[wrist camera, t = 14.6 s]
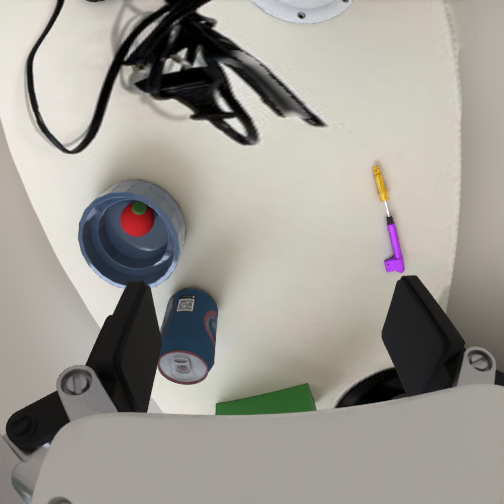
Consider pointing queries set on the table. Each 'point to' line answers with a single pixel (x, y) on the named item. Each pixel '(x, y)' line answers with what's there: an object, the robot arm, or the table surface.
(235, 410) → the hardback book
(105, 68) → the table surface
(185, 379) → the soda can
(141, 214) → the tomato
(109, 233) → the bowl
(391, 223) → the purple yellow rod
